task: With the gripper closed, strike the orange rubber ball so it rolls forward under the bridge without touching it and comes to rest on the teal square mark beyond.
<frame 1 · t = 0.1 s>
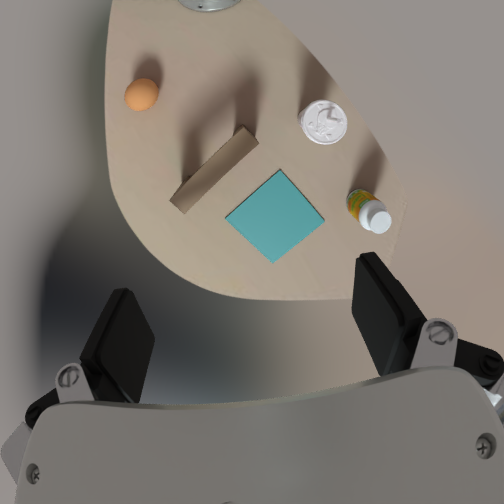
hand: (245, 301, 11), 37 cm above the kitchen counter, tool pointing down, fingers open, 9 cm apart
ball: (141, 94, 35), on the kitchen counter
bridge: (217, 160, 44), on the kitchen counter
supplement bottle: (358, 201, 48), on the kitchen counter
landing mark: (276, 219, 49), on the kitchen counter
smoothie: (308, 119, 41), on the kitchen counter
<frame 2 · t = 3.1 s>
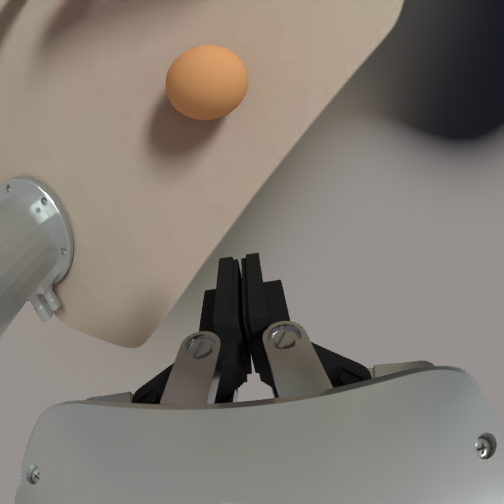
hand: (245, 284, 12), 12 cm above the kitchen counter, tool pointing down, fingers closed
ball: (206, 82, 15), on the kitchen counter
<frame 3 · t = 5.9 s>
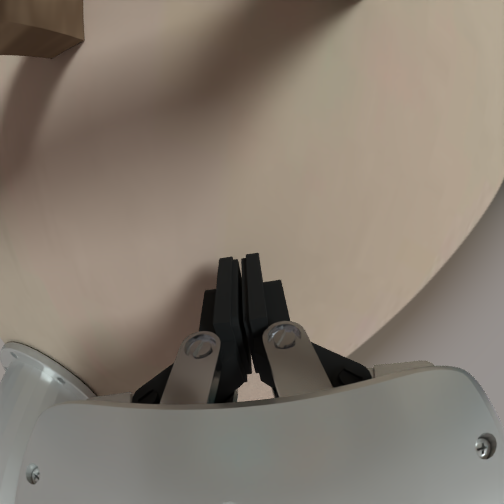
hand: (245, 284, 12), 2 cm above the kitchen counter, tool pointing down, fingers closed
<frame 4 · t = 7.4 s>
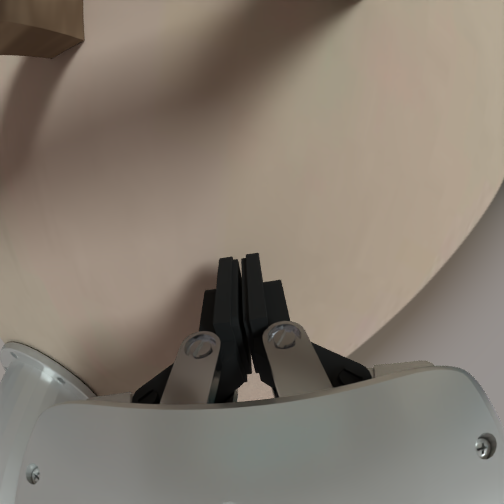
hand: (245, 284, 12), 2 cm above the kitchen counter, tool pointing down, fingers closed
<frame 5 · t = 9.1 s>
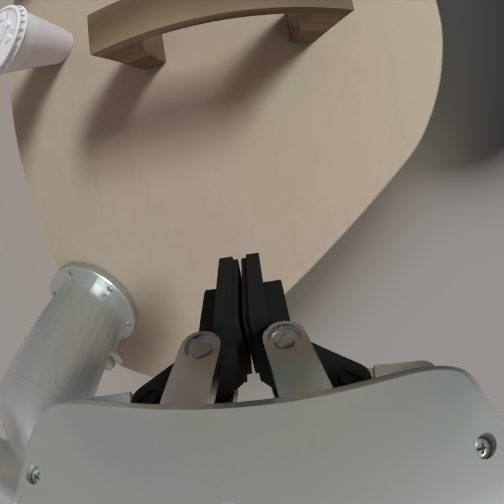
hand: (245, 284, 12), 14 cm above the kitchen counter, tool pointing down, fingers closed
bridge: (225, 33, 17), on the kitchen counter
smoothie: (60, 48, 15), on the kitchen counter
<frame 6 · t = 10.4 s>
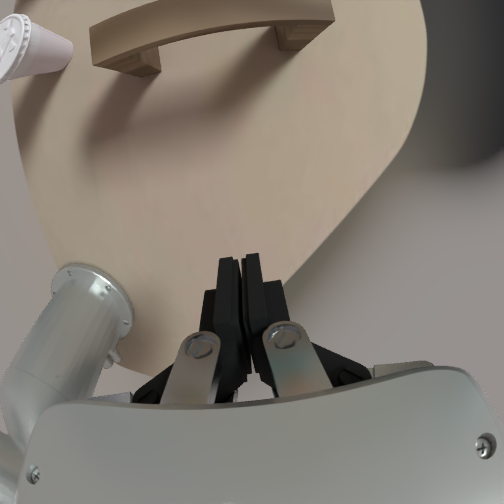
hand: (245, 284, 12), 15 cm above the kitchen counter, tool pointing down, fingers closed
bridge: (217, 43, 18), on the kitchen counter
smoothie: (60, 55, 16), on the kitchen counter
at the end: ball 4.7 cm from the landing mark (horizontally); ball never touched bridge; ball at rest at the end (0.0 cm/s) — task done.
